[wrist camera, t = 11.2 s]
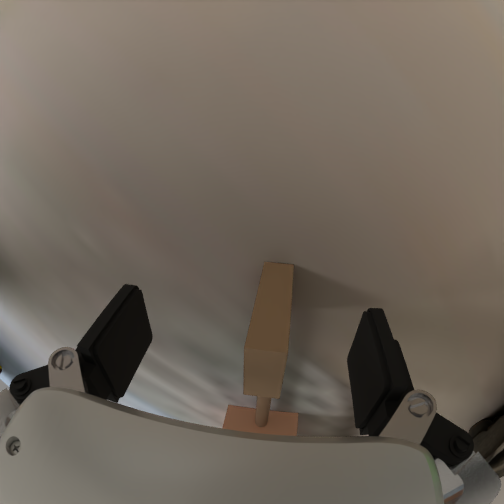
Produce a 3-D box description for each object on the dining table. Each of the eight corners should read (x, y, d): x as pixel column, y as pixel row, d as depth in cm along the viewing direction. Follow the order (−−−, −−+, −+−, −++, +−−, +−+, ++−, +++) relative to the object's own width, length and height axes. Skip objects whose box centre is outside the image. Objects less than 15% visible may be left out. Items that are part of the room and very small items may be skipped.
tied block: (221, 257, 15) (182, 337, 10) (336, 268, 14) (351, 357, 9) (230, 432, 24) (218, 481, 19) (289, 439, 24) (283, 490, 18)
